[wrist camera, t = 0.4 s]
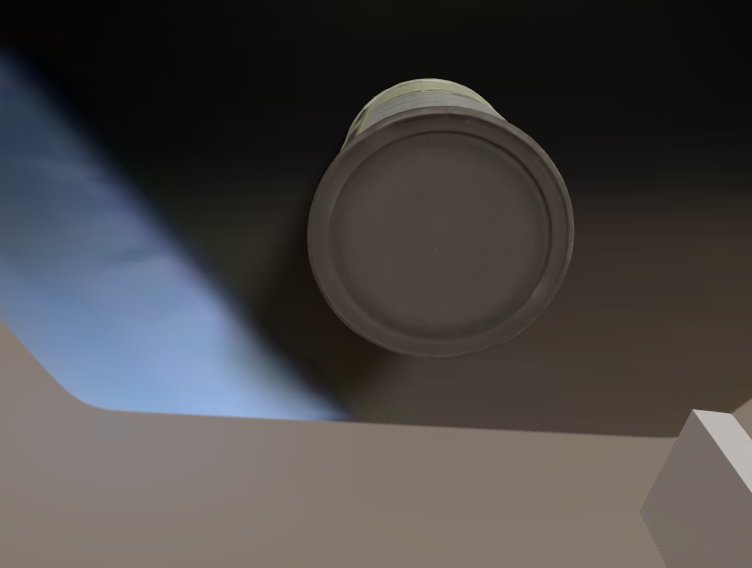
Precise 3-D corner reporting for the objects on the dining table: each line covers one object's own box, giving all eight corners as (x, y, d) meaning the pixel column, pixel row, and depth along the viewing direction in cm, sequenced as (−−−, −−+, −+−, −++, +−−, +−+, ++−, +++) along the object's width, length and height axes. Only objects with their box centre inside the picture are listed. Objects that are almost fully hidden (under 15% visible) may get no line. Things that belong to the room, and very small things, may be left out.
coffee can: (528, 224, 38) (593, 330, 25) (368, 264, 39) (349, 383, 26) (494, 53, 34) (551, 71, 21) (319, 104, 35) (269, 151, 22)
